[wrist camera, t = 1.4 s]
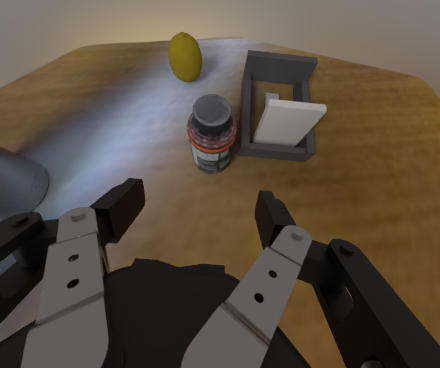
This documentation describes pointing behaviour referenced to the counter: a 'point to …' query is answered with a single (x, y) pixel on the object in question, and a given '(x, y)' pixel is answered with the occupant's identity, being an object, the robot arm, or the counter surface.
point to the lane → (294, 74)
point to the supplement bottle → (212, 133)
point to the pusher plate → (286, 121)
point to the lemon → (185, 57)
